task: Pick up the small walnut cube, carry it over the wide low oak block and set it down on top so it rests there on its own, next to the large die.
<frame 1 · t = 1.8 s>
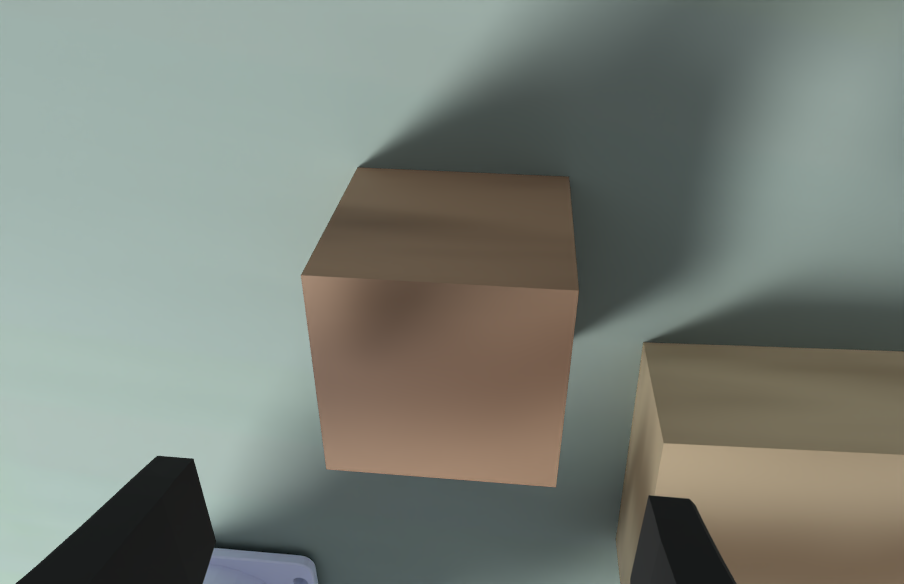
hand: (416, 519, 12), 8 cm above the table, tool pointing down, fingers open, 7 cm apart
walnut cube: (461, 261, 18), on the table
oak block: (766, 451, 21), on the table
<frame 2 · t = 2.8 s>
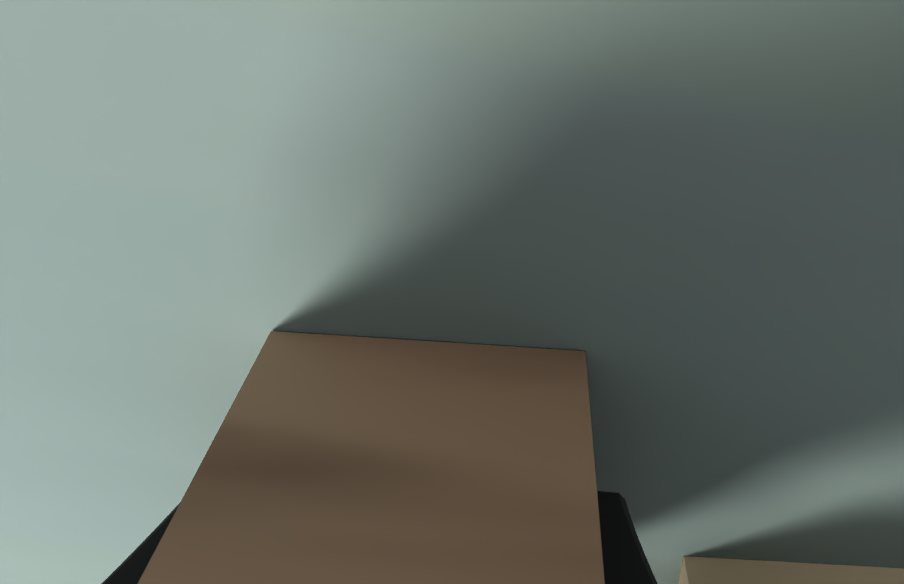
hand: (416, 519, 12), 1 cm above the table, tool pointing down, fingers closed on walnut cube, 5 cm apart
walnut cube: (427, 454, 13), on the table, touching gripper
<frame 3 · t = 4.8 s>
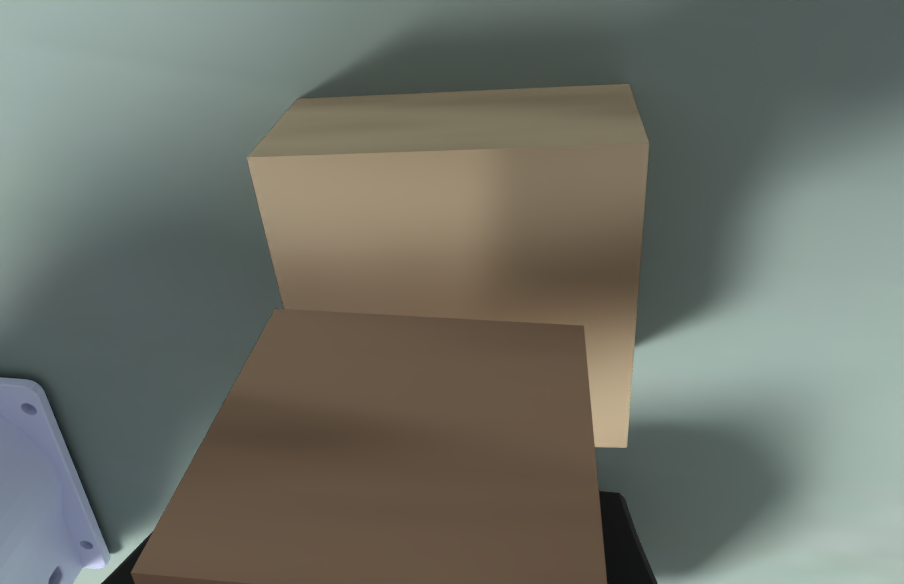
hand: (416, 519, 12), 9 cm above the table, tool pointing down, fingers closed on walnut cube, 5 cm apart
walnut cube: (429, 431, 13), point 8 cm above the table, touching gripper
oak block: (470, 233, 20), on the table
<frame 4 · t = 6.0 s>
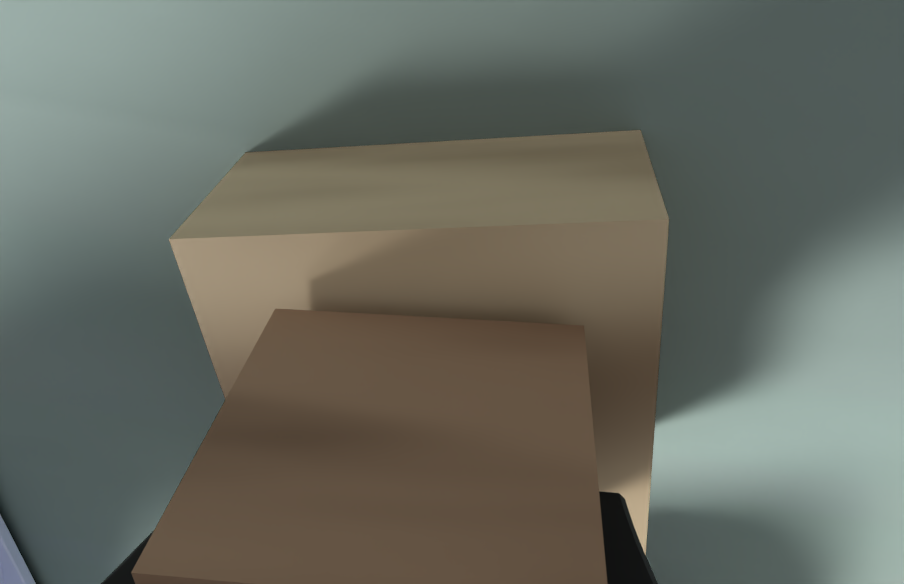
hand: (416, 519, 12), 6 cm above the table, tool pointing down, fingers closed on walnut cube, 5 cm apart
walnut cube: (429, 431, 13), point 4 cm above the table, touching gripper
oak block: (455, 300, 17), on the table
when the fingers open (6 cm above the table, at t = 6.9 s): walnut cube stays where it is, resting on oak block.
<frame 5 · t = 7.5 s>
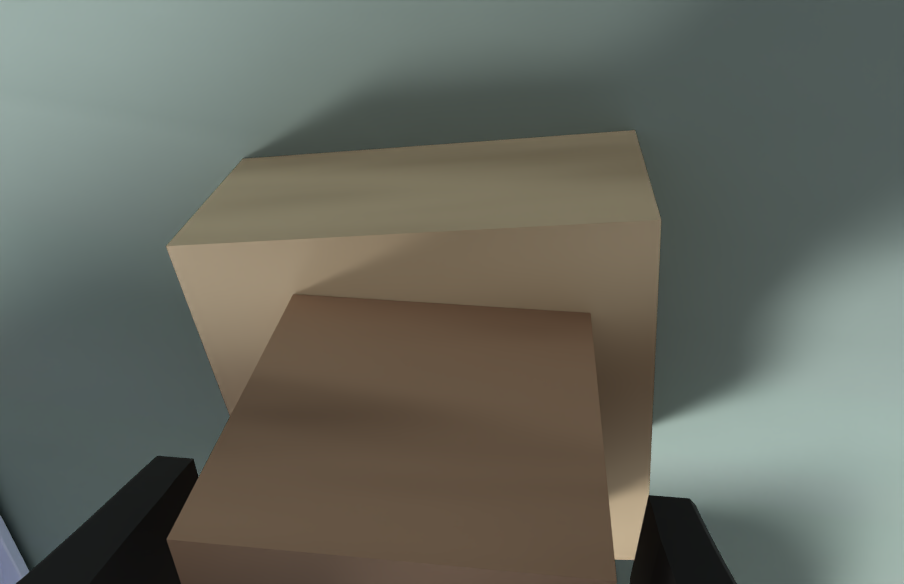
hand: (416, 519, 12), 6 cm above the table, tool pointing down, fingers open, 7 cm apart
walnut cube: (439, 414, 13), point 4 cm above the table, touching oak block
oak block: (454, 302, 17), on the table, touching walnut cube
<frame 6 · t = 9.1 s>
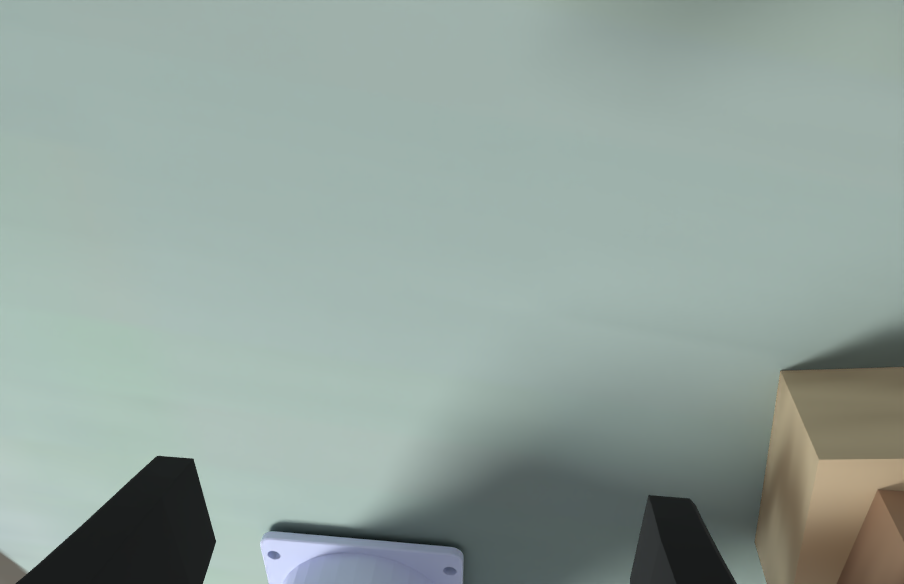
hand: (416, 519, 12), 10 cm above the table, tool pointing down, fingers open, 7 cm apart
oak block: (892, 455, 24), on the table, touching walnut cube
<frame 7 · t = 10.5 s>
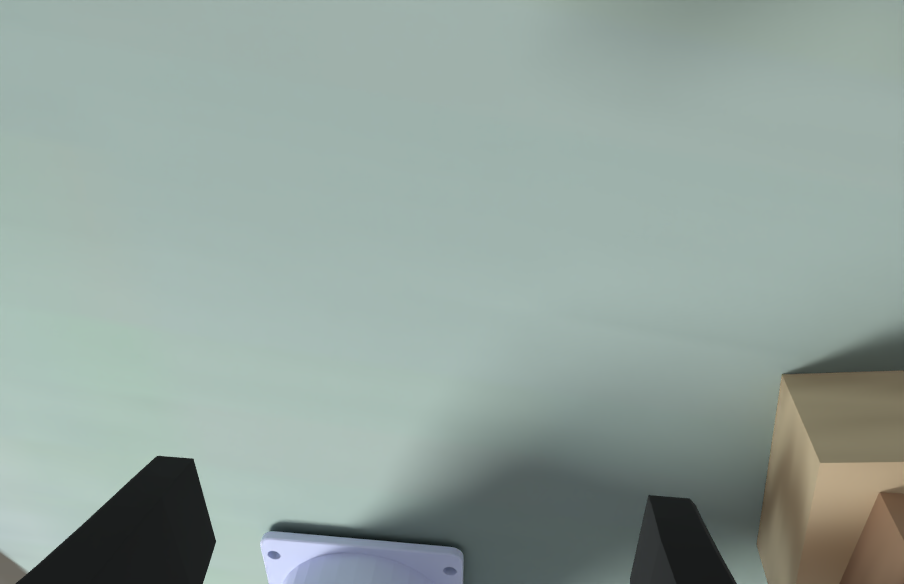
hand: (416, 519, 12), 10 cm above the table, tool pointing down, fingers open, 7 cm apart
oak block: (893, 457, 24), on the table, touching walnut cube
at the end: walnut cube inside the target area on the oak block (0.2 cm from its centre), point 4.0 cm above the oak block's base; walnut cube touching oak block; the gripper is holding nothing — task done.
